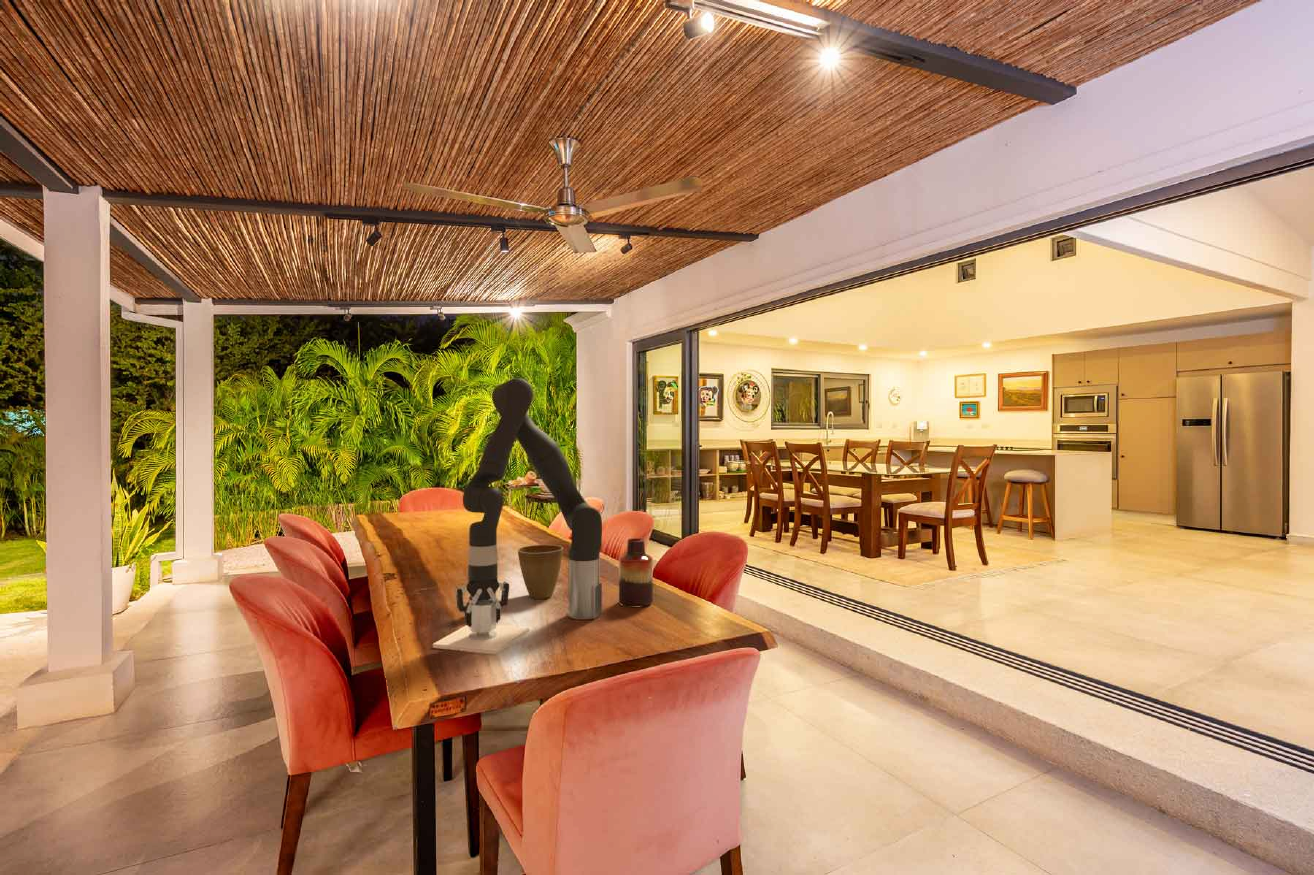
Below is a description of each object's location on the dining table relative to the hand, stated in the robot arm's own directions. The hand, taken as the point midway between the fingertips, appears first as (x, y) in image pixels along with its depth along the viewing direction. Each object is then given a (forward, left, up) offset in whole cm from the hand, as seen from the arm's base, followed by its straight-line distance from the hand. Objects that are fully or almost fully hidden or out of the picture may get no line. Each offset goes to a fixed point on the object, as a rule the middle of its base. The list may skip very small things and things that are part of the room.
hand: (482, 624), depth 167 cm
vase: (-29, -44, -4) cm, 53 cm away
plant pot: (+4, -43, -4) cm, 44 cm away
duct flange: (0, 0, -4) cm, 4 cm away
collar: (0, 0, -1) cm, 1 cm away
